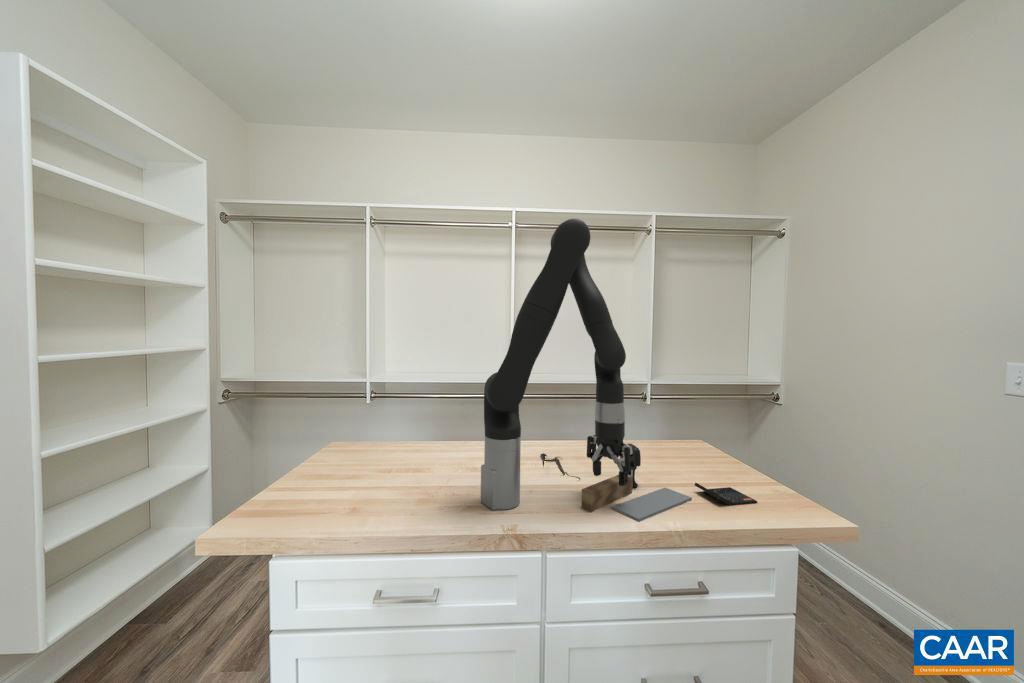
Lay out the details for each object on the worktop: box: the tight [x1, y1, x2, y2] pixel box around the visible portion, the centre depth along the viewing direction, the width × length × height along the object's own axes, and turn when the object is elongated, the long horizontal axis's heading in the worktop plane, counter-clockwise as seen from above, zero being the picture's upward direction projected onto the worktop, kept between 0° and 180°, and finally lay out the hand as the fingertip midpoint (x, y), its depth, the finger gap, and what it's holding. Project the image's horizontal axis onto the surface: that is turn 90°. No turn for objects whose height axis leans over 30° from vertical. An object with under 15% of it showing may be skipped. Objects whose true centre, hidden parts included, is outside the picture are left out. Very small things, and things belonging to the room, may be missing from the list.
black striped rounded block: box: [622, 442, 642, 489], centre depth 114 cm, size 7×4×11 cm, turn 7°
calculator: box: [694, 482, 758, 507], centre depth 106 cm, size 9×12×3 cm
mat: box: [611, 487, 693, 522], centre depth 101 cm, size 22×8×1 cm, turn 125°
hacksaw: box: [539, 453, 581, 482], centre depth 128 cm, size 24×10×2 cm, turn 1°
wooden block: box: [581, 474, 633, 513], centre depth 103 cm, size 18×3×5 cm, turn 131°
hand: (609, 480), depth 103 cm, fingers open, 8 cm apart
